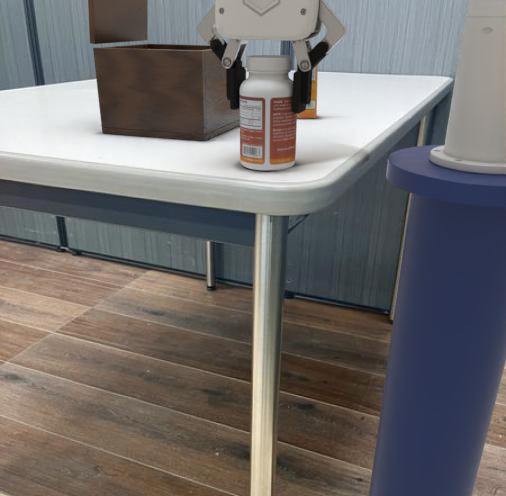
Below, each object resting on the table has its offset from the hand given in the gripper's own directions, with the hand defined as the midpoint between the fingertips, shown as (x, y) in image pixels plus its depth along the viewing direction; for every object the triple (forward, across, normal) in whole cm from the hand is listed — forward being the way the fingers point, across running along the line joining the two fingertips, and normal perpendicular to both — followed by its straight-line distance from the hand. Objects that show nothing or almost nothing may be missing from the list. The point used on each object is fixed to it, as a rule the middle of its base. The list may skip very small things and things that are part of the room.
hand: (268, 108), depth 63 cm
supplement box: (+6, -5, +36) cm, 37 cm away
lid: (-13, -27, +18) cm, 35 cm away
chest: (+6, -20, +18) cm, 28 cm away
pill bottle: (+6, 0, 0) cm, 6 cm away
